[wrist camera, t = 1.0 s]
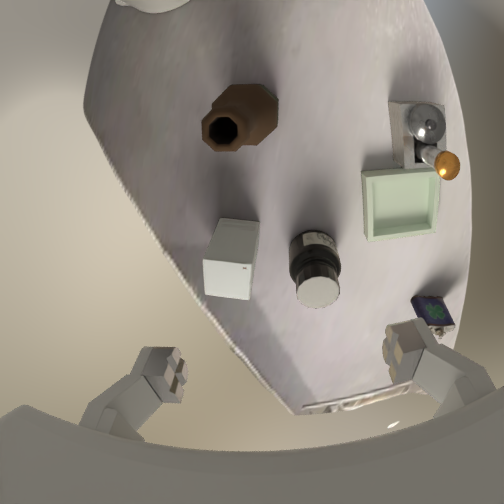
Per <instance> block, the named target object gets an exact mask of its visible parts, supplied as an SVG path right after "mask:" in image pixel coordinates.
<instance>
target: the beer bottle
mask: <svg viewBox="0 0 504 504" xmlns="http://www.w3.org/2000/svg"><path fill="white" fill-rule="evenodd" d="M277 124H278V98H277V97H276V96H275V95H273V94H272V93H271V92H270V91H269V90H268V89H267V88H266V87H265V86H264V85H260V84H237V85H230V86H229V87H228V88H227V89H226V90H225V91H224V92H223V93H222V94H221V95H220V96H219V97H218V98H217V99H216V100H215V101H214V102H213V103H212V110H211V111H210V112H209V113H208V114H207V115H206V116H205V117H204V118H203V119H202V140H203V141H204V142H205V143H207V144H208V145H209V146H210V147H211V148H212V149H213V150H214V151H237V150H238V149H239V148H240V147H241V146H242V145H258V144H259V143H260V142H261V141H262V140H263V139H264V138H266V137H267V136H268V135H269V134H270V133H271V132H272V131H273V130H274V129H276V127H277Z"/></svg>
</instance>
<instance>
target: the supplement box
mask: <svg viewBox="0 0 504 504" xmlns="http://www.w3.org/2000/svg"><path fill="white" fill-rule="evenodd" d="M259 227H260V222H256V221H247V220H238V219H227V218H220V220H219V222H218V224H217V227H216V229H215V231H214V234H213V236H212V238H211V241H210V243H209V246H208V248H207V250H206V253H205V255H204V258H203V275H204V289H205V294H206V295H213V296H220V297H228V298H237V299H244V300H249V299H250V295H251V289H252V283H253V276H254V270H255V263H256V257H257V251H258V242H259Z"/></svg>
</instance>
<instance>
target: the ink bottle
mask: <svg viewBox="0 0 504 504" xmlns="http://www.w3.org/2000/svg"><path fill="white" fill-rule="evenodd" d="M289 272H290V276H291V278H292V280H293V281H294V282H295V283H296V294H297V299H298V300H299V301H300V302H301V304H303V305H305V306H307V307H310V308H315V309H317V308H324V307H326V306H328V305H331V304H332V303H333V302H334V301H335V300H337V298H338V296H339V294H340V286H339V282H338V277H339V275H340V272H341V263H340V258H339V254H338V251H337V247H336V244H335V242H334V240H333V239H332V238H331V237H330V236H329V235H328V234H326V233H324V232H322V231H318V230H309V231H306V232H303V233H301V234H300V235H298V236H297V237H296V238H295V239H294V240H293V241H292V243H291V245H290V248H289Z"/></svg>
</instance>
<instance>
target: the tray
mask: <svg viewBox="0 0 504 504" xmlns="http://www.w3.org/2000/svg"><path fill="white" fill-rule="evenodd" d="M361 178H362V192H363V213H364V235H365V237H366V239H367V241H368V242H374V241H381V240H388V239H396V238H403V237H410V236H417V235H424V234H431V233H435V232H436V224H437V215H438V204H439V189H440V176H439V175H438V174H437V173H436V171H435V169H434V168H432V167H429V168H413V169H404V168H393V169H381V170H371V171H361Z"/></svg>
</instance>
